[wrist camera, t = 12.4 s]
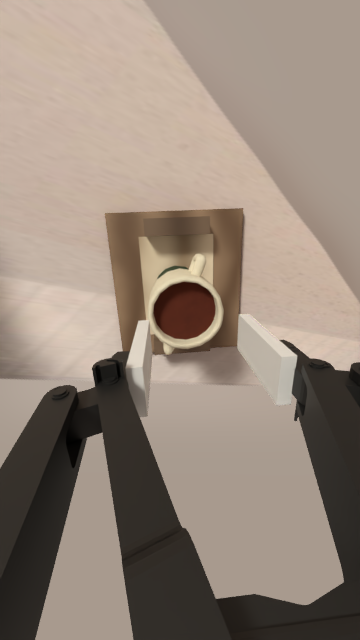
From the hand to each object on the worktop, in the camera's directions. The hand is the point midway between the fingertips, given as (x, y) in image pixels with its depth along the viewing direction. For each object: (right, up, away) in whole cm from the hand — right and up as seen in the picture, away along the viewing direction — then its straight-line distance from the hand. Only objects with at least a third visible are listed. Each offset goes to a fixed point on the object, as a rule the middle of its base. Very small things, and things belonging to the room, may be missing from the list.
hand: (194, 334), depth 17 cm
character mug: (-2, +6, +17) cm, 18 cm away
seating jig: (-1, +6, +18) cm, 19 cm away
